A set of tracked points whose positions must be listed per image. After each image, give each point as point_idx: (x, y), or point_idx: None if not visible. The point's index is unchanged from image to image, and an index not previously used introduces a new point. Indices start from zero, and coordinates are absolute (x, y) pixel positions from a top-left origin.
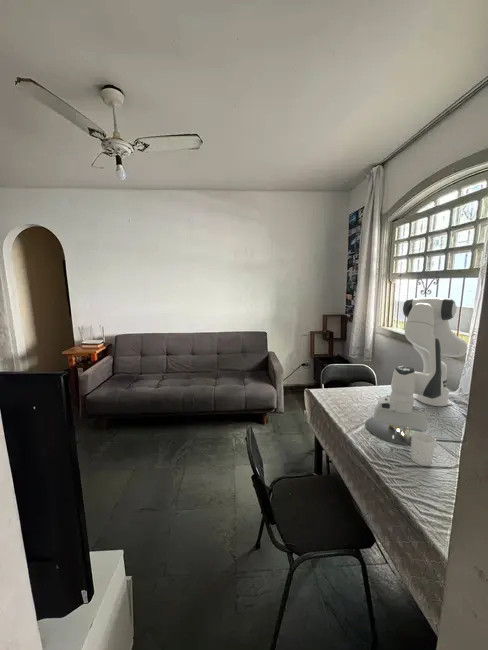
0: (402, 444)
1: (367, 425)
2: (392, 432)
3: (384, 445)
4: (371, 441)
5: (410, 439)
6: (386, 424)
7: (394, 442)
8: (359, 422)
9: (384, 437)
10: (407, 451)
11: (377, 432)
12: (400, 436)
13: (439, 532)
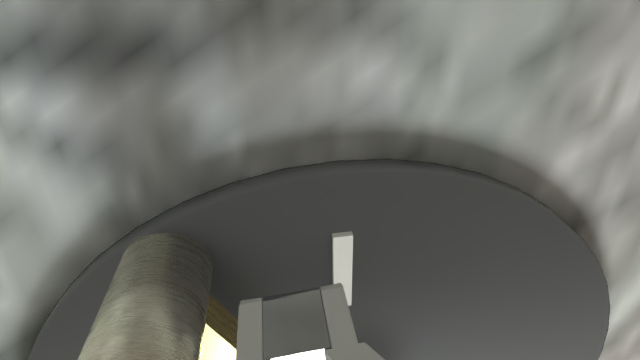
0: (211, 192)
1: (597, 328)
2: None
3: (454, 12)
4: (630, 24)
5: None
6: None
7: (316, 169)
8: (636, 341)
9: (450, 203)
10: (93, 30)
11: (520, 263)
12: None
13: None
